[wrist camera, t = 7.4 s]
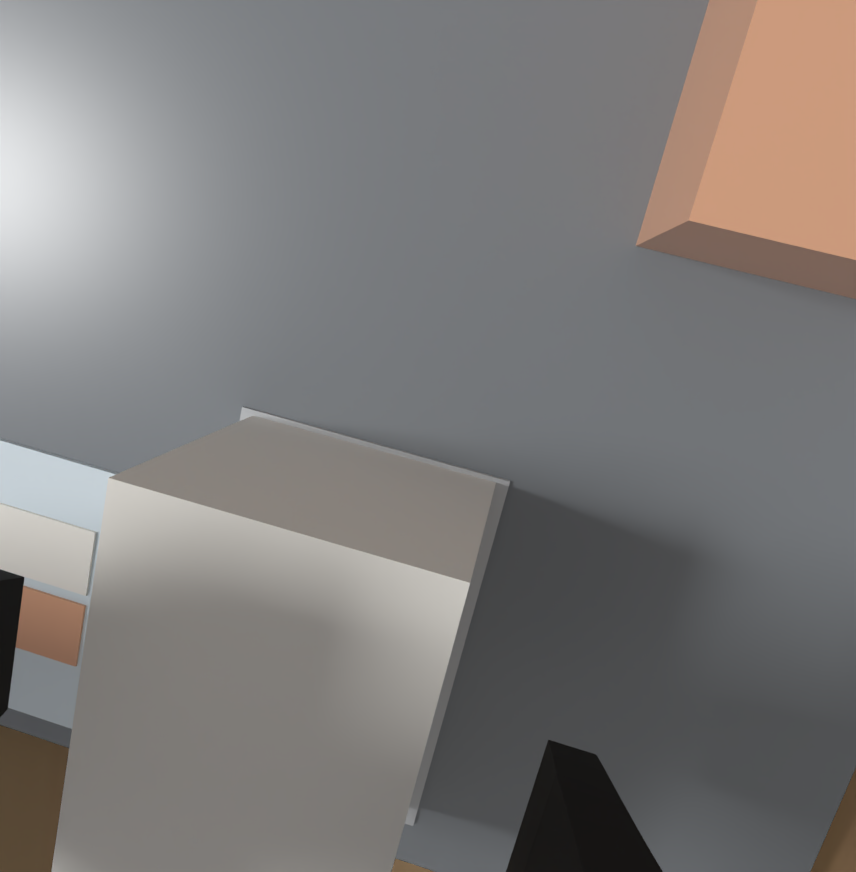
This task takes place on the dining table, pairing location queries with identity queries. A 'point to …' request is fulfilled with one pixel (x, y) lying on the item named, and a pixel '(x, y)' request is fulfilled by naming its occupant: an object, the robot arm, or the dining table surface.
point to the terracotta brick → (765, 146)
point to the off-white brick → (264, 654)
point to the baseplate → (446, 380)
